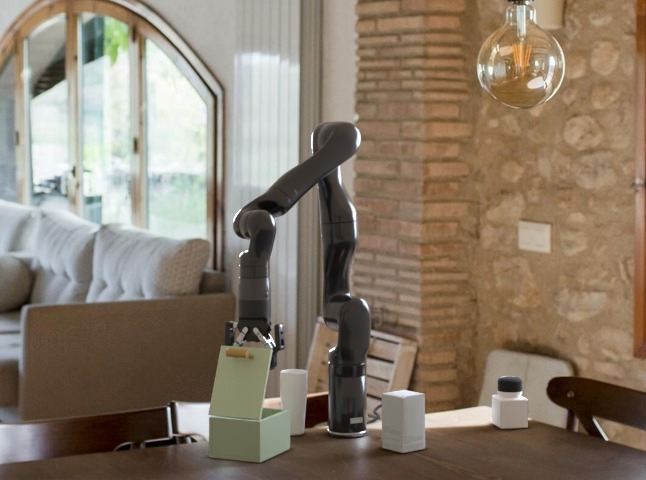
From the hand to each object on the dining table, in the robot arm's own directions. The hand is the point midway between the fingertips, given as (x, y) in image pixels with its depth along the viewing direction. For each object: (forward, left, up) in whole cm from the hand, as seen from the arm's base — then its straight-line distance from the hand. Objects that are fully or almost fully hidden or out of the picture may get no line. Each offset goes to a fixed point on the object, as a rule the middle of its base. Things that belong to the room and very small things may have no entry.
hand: (254, 368), depth 292 cm
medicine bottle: (-50, +45, -19) cm, 70 cm away
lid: (+6, 0, -2) cm, 7 cm away
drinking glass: (-20, 0, -19) cm, 27 cm away
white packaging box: (-16, +30, -19) cm, 39 cm away
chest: (+2, 0, -19) cm, 19 cm away
